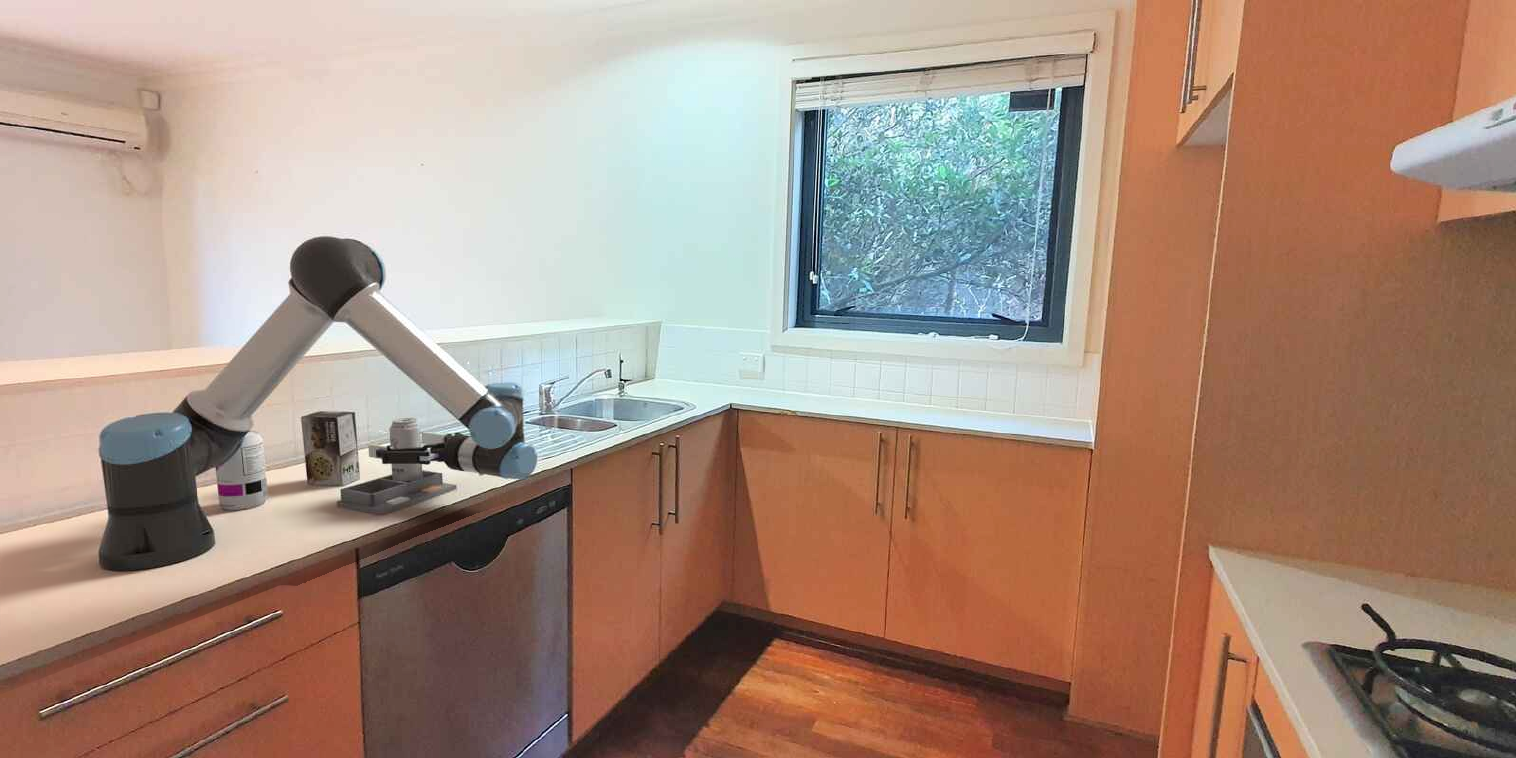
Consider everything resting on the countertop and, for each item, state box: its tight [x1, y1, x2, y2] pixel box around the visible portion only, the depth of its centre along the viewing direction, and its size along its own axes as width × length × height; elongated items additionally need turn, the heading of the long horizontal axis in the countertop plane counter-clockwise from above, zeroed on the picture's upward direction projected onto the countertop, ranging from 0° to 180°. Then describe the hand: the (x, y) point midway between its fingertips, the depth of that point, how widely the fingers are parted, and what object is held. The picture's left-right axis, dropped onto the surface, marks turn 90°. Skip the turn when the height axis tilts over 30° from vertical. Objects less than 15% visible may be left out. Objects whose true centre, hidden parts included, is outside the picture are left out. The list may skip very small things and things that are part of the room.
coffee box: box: [300, 410, 361, 487], centre depth 161 cm, size 9×6×16 cm
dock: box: [336, 469, 458, 516], centre depth 151 cm, size 19×13×4 cm
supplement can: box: [215, 430, 269, 511], centre depth 144 cm, size 8×8×15 cm
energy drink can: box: [389, 417, 423, 483], centre depth 155 cm, size 6×6×15 cm
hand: (397, 443), depth 156 cm, fingers open, 13 cm apart
